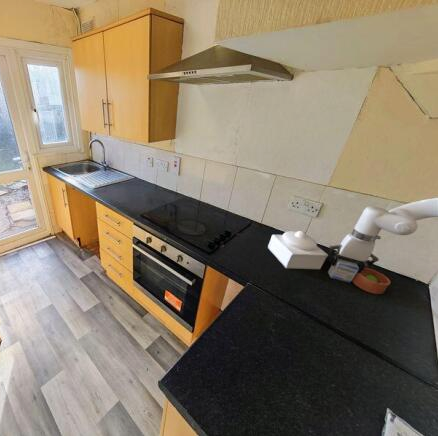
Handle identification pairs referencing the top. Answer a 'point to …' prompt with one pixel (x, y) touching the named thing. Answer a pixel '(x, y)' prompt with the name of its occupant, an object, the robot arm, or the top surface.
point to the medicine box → (343, 270)
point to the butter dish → (297, 250)
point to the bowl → (369, 284)
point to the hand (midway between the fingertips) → (344, 267)
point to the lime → (371, 278)
